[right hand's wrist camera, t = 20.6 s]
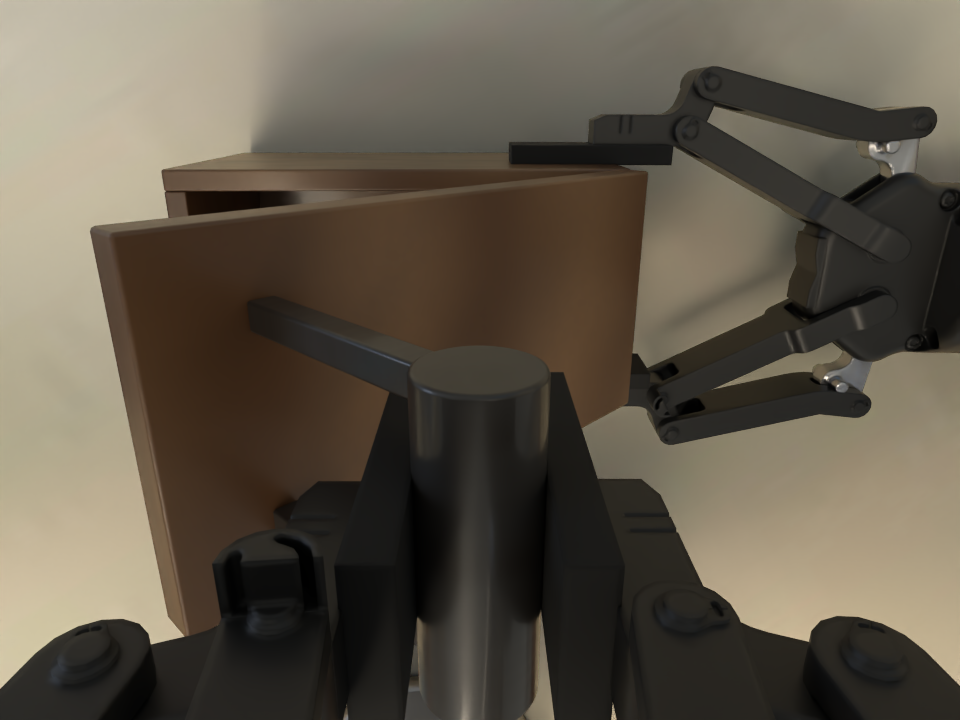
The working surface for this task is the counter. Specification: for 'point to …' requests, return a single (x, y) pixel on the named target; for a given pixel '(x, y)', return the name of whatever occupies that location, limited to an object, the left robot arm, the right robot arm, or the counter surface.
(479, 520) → the brown handled panel
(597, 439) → the counter surface
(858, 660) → the right robot arm
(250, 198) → the chest
